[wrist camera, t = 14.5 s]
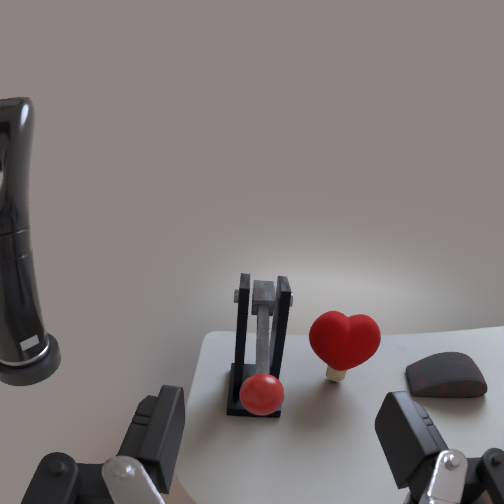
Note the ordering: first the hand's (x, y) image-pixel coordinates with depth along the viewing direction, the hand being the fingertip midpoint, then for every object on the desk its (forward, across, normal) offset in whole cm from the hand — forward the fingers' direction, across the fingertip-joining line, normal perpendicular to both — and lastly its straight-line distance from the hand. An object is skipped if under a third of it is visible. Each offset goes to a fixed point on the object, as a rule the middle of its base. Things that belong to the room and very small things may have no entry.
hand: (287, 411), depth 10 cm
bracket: (+20, 0, +17) cm, 27 cm away
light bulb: (+23, -11, +18) cm, 31 cm away
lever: (+16, 0, +8) cm, 18 cm away
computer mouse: (+20, -29, +17) cm, 39 cm away
